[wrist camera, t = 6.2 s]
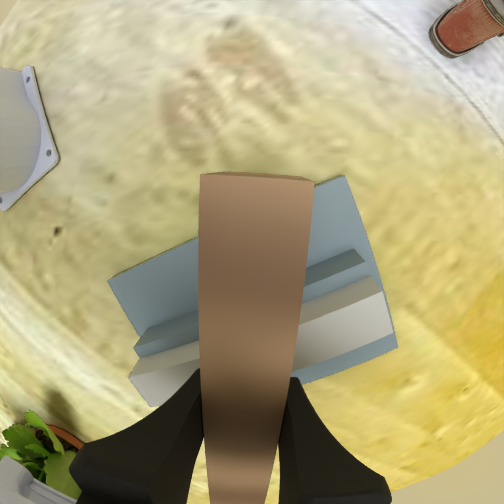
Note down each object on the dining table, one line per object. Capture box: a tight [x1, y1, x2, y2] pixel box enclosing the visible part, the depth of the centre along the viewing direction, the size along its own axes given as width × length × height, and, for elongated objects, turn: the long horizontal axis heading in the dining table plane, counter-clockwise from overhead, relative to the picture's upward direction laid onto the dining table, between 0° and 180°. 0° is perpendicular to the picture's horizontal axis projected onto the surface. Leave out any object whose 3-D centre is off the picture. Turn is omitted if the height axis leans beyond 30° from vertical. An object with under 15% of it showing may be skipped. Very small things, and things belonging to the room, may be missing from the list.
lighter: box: [428, 0, 504, 59], centre depth 8 cm, size 8×3×10 cm, turn 133°
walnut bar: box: [198, 172, 315, 504], centre depth 12 cm, size 18×3×4 cm, turn 177°
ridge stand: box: [107, 175, 398, 407], centre depth 17 cm, size 16×12×6 cm
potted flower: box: [0, 410, 84, 500], centre depth 19 cm, size 25×24×18 cm
